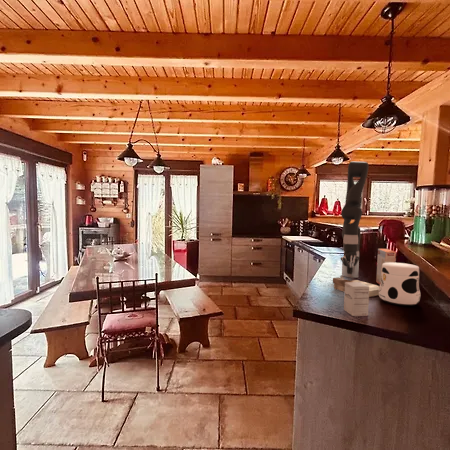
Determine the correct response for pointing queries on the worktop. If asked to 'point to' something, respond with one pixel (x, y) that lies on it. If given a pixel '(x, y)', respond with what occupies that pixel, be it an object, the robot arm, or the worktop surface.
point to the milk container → (400, 284)
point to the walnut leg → (340, 281)
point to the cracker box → (384, 261)
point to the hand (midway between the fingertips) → (349, 273)
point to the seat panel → (372, 288)
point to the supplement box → (356, 298)
